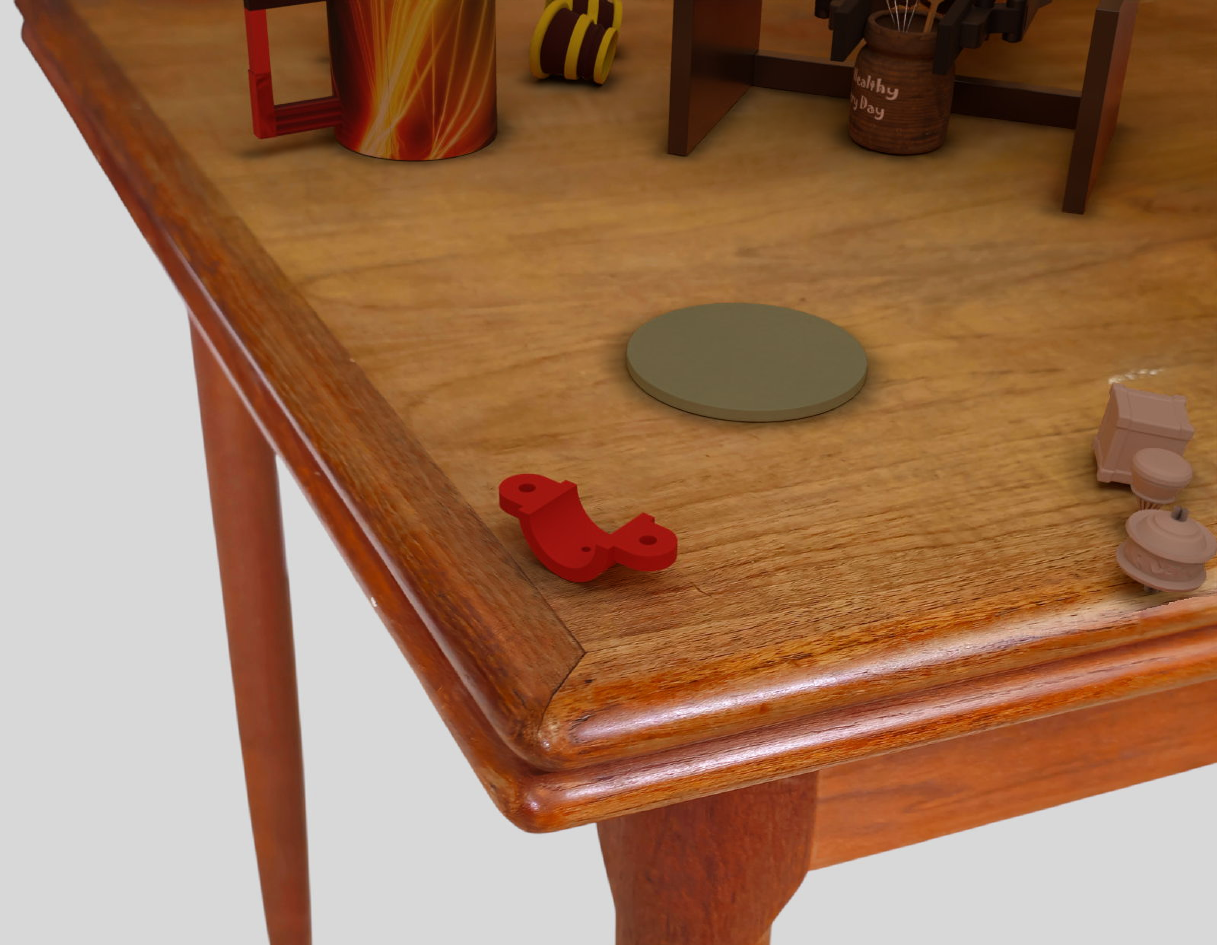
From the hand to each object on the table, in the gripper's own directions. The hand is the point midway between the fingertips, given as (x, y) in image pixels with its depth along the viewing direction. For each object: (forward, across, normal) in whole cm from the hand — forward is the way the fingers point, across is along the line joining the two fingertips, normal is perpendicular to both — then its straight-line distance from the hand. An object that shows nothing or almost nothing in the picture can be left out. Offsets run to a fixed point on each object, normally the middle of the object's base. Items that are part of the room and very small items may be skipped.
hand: (890, 43), depth 100 cm
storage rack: (-5, 0, -7) cm, 9 cm away
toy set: (+35, -19, -3) cm, 40 cm away
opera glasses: (-11, +22, -7) cm, 26 cm away
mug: (+7, +27, -7) cm, 29 cm away
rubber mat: (+27, 0, -7) cm, 28 cm away
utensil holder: (-5, 0, -7) cm, 9 cm away
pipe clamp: (+45, +1, -5) cm, 46 cm away
